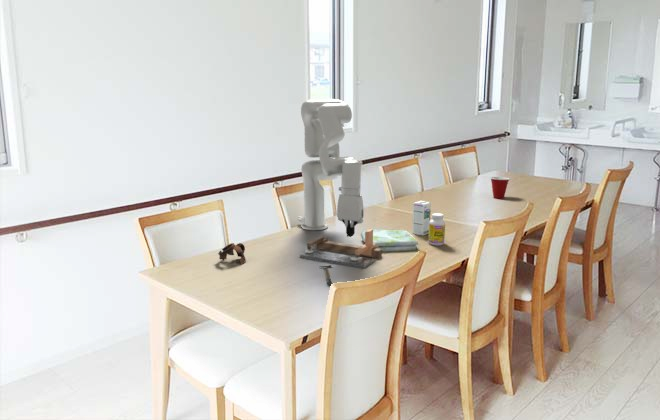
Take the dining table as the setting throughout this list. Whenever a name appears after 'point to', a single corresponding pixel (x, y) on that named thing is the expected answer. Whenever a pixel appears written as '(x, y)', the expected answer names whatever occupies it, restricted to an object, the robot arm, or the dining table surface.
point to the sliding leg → (366, 245)
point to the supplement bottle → (436, 229)
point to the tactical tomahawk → (327, 274)
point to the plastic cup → (499, 186)
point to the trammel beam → (340, 247)
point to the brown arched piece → (229, 250)
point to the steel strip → (336, 258)
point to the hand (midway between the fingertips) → (350, 235)
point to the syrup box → (421, 217)
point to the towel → (392, 240)
